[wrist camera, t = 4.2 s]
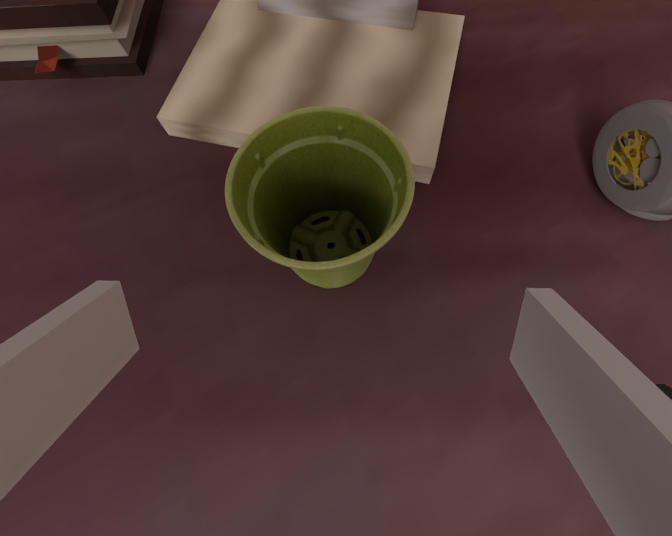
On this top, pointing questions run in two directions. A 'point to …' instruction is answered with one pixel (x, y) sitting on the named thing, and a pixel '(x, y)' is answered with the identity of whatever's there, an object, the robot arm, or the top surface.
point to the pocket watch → (637, 159)
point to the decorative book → (75, 38)
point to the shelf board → (319, 70)
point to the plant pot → (320, 191)
